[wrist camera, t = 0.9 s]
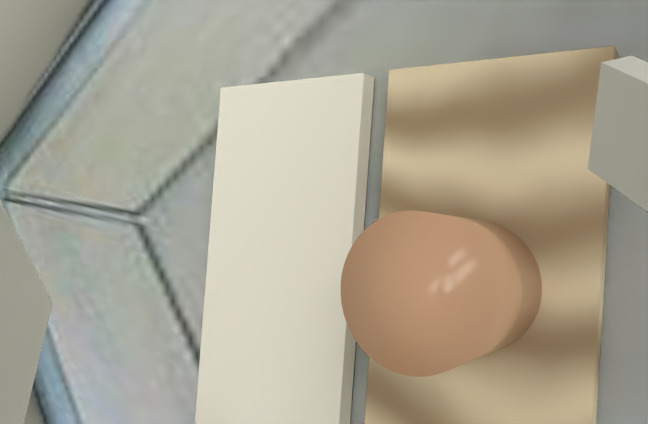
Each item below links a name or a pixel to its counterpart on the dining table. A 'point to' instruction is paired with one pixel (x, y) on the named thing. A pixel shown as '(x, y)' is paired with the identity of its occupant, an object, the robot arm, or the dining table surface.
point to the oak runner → (506, 226)
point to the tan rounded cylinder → (437, 291)
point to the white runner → (283, 251)
